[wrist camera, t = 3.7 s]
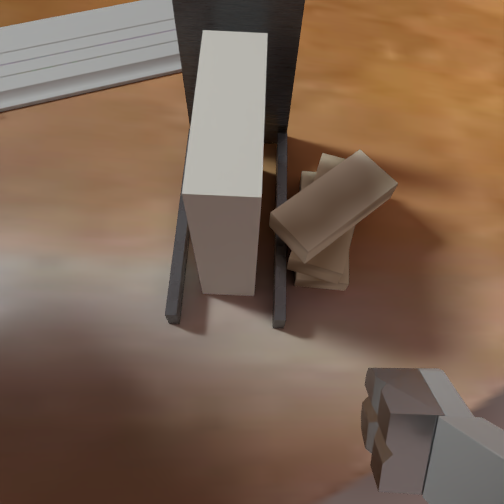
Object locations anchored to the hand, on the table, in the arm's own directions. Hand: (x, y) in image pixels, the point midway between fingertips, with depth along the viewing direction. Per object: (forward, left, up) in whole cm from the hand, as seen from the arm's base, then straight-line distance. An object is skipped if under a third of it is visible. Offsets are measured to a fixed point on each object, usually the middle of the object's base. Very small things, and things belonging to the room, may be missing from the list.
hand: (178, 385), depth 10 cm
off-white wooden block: (0, +17, -23) cm, 29 cm away
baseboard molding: (-11, +37, -24) cm, 46 cm away
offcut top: (+7, +17, -20) cm, 27 cm away
